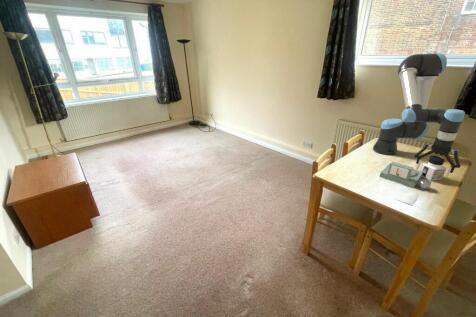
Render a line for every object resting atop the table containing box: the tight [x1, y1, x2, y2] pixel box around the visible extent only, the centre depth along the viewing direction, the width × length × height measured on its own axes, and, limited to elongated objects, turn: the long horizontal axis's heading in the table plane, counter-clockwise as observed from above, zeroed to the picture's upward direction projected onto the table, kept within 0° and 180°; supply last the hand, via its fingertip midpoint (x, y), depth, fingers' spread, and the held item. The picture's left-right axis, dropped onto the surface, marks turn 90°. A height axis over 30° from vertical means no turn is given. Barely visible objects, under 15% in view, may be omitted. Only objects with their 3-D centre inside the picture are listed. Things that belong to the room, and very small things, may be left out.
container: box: [419, 155, 447, 182], centre depth 128 cm, size 8×8×13 cm
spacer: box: [416, 178, 432, 192], centre depth 121 cm, size 5×5×4 cm
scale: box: [379, 161, 423, 188], centre depth 130 cm, size 18×17×10 cm
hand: (431, 172), depth 130 cm, fingers open, 13 cm apart
